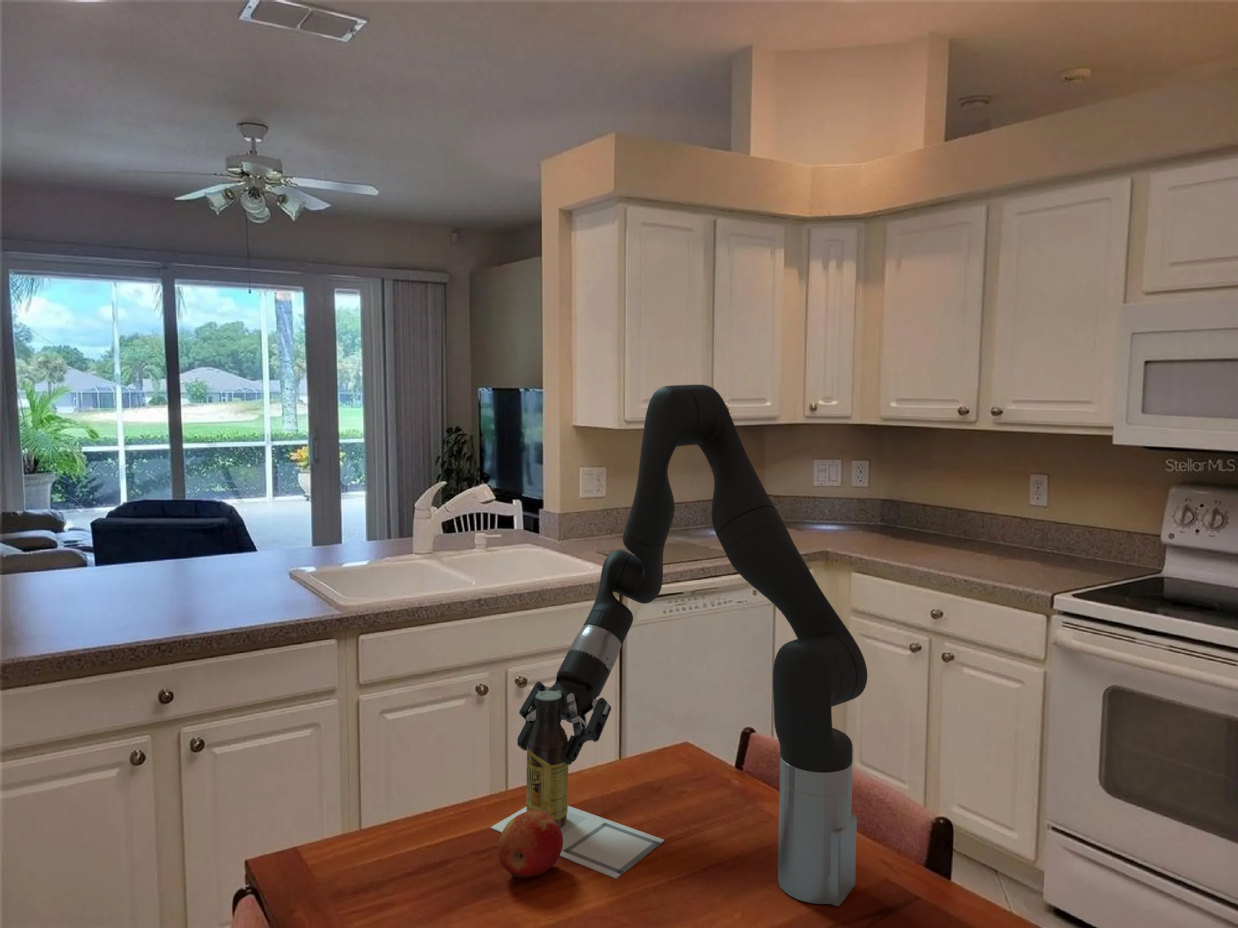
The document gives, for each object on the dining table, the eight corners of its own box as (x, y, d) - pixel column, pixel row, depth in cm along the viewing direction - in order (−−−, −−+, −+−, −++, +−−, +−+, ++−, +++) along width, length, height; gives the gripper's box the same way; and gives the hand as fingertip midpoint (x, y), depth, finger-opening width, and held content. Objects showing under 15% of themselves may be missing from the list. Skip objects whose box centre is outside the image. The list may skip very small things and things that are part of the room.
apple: (571, 868, 115) (571, 811, 114) (532, 897, 108) (531, 837, 107) (527, 850, 119) (526, 795, 119) (486, 877, 112) (485, 820, 112)
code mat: (664, 840, 122) (664, 839, 122) (616, 878, 112) (616, 877, 112) (543, 797, 135) (543, 796, 135) (490, 828, 125) (490, 826, 125)
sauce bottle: (522, 815, 129) (521, 689, 127) (561, 809, 131) (560, 684, 130) (533, 836, 123) (532, 703, 121) (573, 828, 125) (573, 698, 124)
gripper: (544, 640, 136) (495, 732, 127) (616, 656, 127) (569, 755, 119) (565, 664, 140) (519, 754, 132) (636, 681, 132) (591, 778, 124)
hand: (543, 754), depth 125 cm, fingers open, 8 cm apart
